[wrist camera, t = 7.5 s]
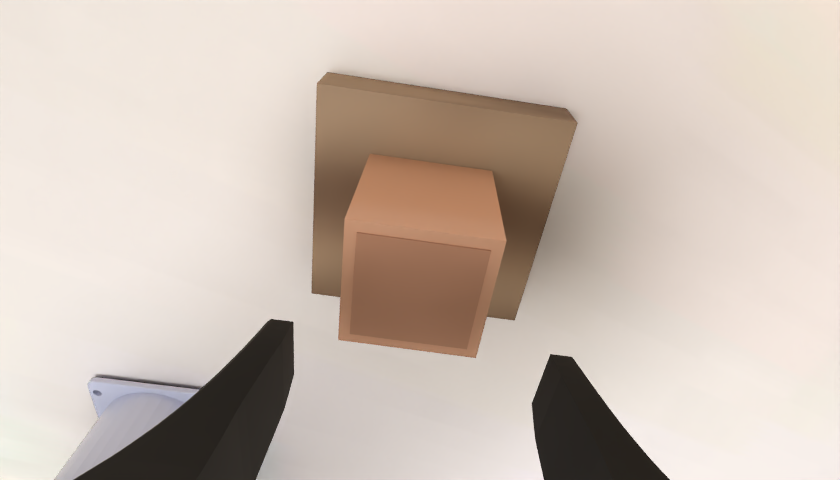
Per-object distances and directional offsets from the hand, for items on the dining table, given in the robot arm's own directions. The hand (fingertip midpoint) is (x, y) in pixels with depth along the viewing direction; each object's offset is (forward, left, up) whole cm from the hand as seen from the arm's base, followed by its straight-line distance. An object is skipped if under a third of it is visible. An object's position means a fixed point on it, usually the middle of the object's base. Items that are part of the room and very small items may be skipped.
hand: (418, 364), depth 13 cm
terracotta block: (0, 0, -8) cm, 9 cm away
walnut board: (0, 0, -11) cm, 11 cm away
